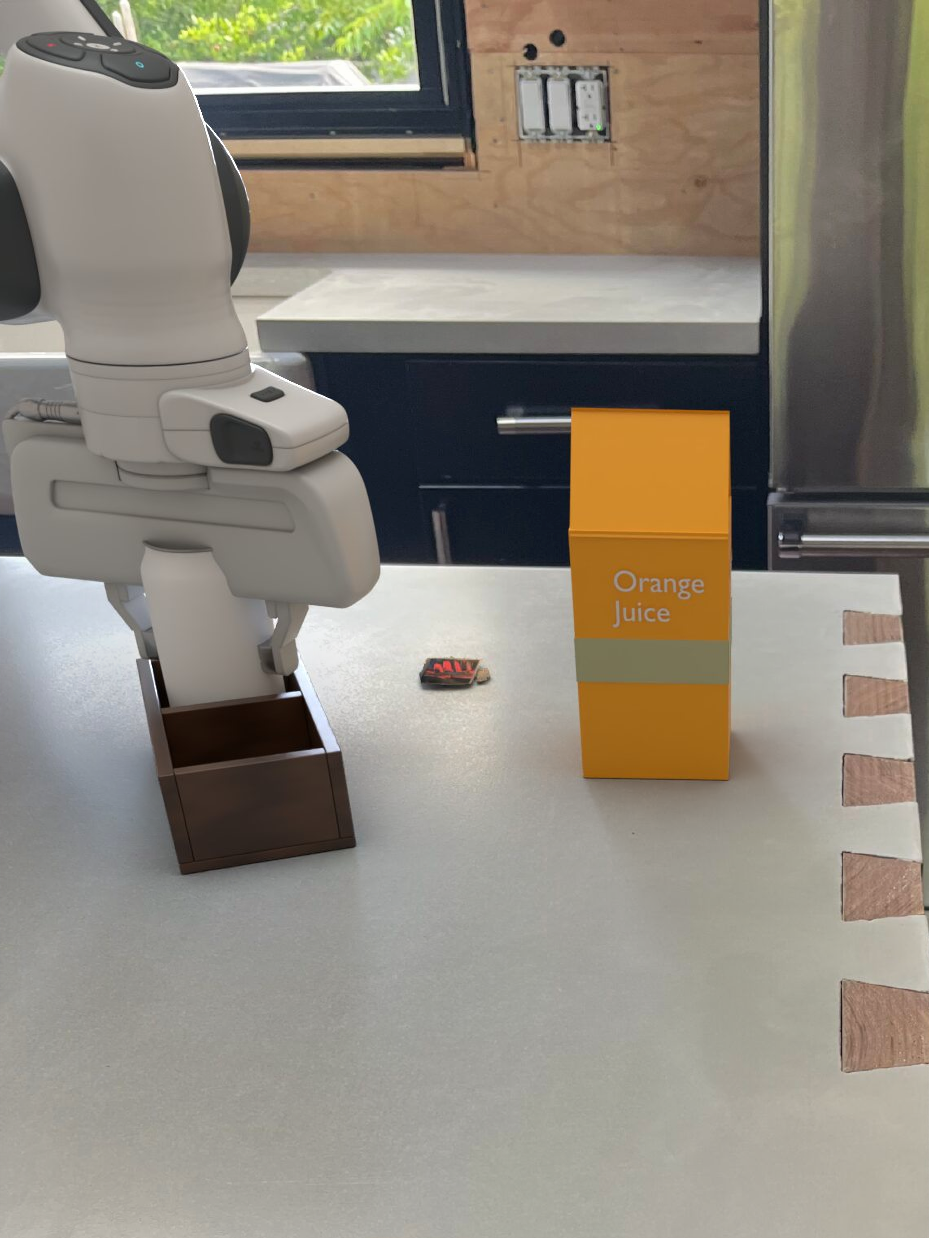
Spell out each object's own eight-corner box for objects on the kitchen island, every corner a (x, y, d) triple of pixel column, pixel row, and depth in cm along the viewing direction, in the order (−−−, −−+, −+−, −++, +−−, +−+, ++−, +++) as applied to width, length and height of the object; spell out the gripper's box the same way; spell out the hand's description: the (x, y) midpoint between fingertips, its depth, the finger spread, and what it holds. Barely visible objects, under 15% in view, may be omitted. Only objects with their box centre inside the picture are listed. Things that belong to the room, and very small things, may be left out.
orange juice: (729, 780, 89) (729, 427, 77) (581, 778, 89) (559, 424, 77) (732, 728, 95) (732, 395, 84) (594, 726, 95) (575, 391, 84)
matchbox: (420, 689, 99) (420, 683, 99) (417, 662, 103) (416, 655, 103) (491, 685, 100) (491, 678, 100) (485, 658, 104) (485, 651, 104)
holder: (180, 875, 78) (157, 776, 75) (156, 746, 91) (135, 658, 88) (356, 846, 81) (341, 751, 78) (308, 726, 94) (293, 640, 91)
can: (250, 769, 85) (209, 558, 78) (155, 751, 87) (106, 543, 80) (314, 727, 90) (281, 525, 83) (223, 711, 92) (183, 512, 85)
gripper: (-45, 407, 77) (26, 664, 85) (318, 439, 73) (356, 704, 81) (32, 382, 82) (92, 627, 90) (375, 411, 79) (406, 663, 86)
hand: (220, 664), depth 86 cm, fingers closed on can, 6 cm apart
